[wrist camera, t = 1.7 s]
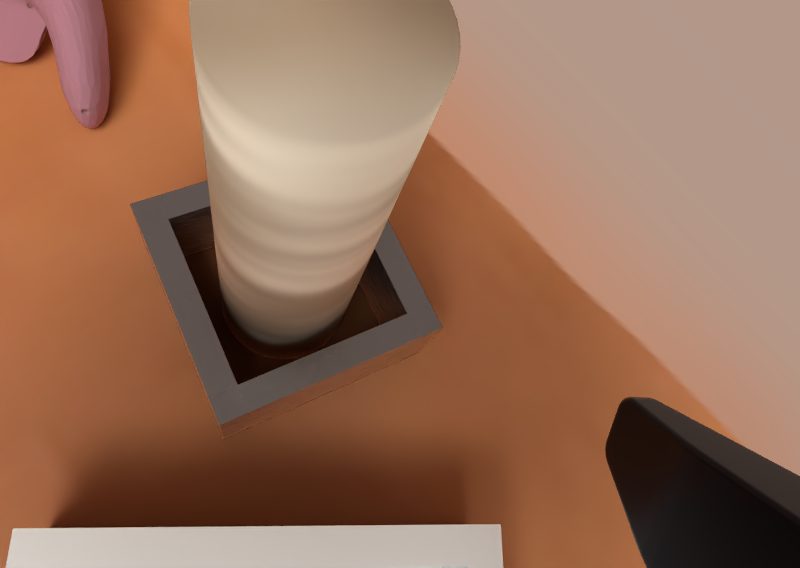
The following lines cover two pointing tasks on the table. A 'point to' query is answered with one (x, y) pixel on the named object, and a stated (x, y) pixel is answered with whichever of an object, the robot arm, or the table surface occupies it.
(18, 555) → the tray
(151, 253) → the collar
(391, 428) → the table surface
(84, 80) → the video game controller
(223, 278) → the dowel
